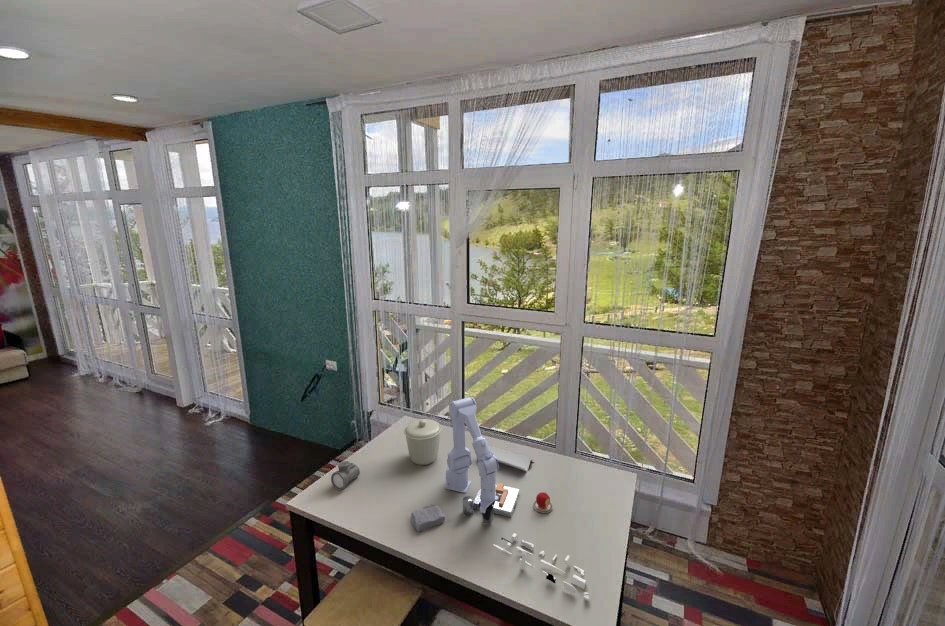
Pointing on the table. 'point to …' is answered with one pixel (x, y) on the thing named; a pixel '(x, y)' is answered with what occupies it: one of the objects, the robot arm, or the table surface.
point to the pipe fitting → (344, 474)
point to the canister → (423, 440)
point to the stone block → (427, 517)
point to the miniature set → (567, 586)
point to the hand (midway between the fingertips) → (488, 515)
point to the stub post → (468, 506)
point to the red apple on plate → (543, 503)
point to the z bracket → (511, 458)
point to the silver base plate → (508, 503)
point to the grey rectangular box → (490, 517)
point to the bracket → (501, 490)
